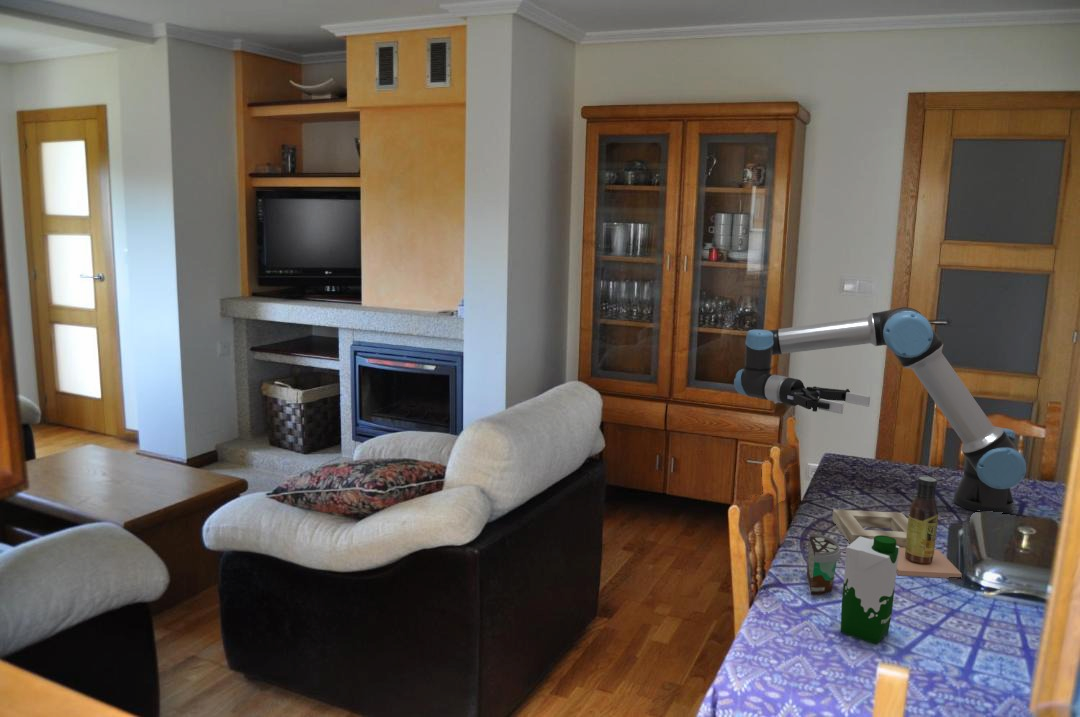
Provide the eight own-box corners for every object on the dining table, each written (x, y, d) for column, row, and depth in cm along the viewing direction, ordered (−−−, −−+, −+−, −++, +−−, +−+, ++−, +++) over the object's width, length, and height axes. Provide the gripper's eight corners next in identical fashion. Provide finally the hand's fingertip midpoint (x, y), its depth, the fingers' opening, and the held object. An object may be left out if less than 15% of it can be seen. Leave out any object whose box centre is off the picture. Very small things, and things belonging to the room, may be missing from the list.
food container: (841, 600, 182) (845, 556, 180) (811, 597, 183) (815, 553, 181) (833, 576, 194) (837, 534, 192) (805, 573, 195) (809, 532, 193)
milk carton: (880, 648, 163) (890, 549, 159) (833, 632, 168) (842, 536, 165) (894, 631, 169) (905, 536, 166) (849, 616, 175) (858, 524, 171)
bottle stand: (900, 523, 228) (901, 512, 227) (925, 550, 210) (927, 538, 210) (832, 520, 229) (833, 509, 228) (851, 546, 211) (852, 535, 211)
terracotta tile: (937, 553, 208) (937, 549, 208) (961, 578, 194) (961, 573, 194) (878, 551, 209) (879, 546, 209) (898, 575, 195) (898, 570, 195)
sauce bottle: (929, 567, 197) (938, 485, 193) (900, 560, 201) (909, 479, 197) (936, 558, 202) (945, 478, 199) (908, 551, 206) (917, 472, 202)
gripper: (808, 397, 247) (878, 412, 231) (758, 409, 231) (829, 426, 215) (810, 372, 246) (880, 385, 230) (760, 382, 230) (831, 397, 214)
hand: (856, 405), depth 223 cm, fingers open, 13 cm apart
